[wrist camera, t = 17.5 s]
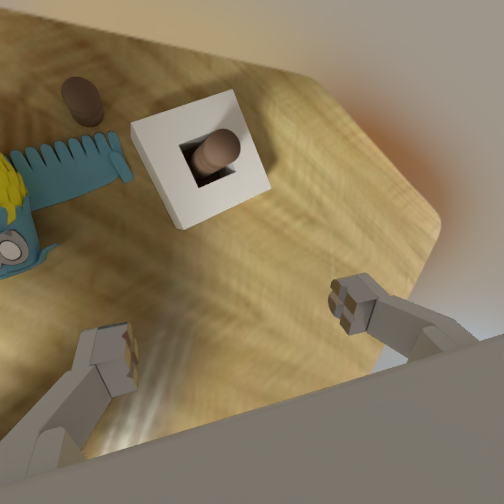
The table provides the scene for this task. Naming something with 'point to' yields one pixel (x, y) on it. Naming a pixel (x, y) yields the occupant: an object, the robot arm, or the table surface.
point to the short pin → (82, 101)
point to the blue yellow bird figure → (49, 191)
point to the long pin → (214, 153)
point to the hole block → (191, 135)
